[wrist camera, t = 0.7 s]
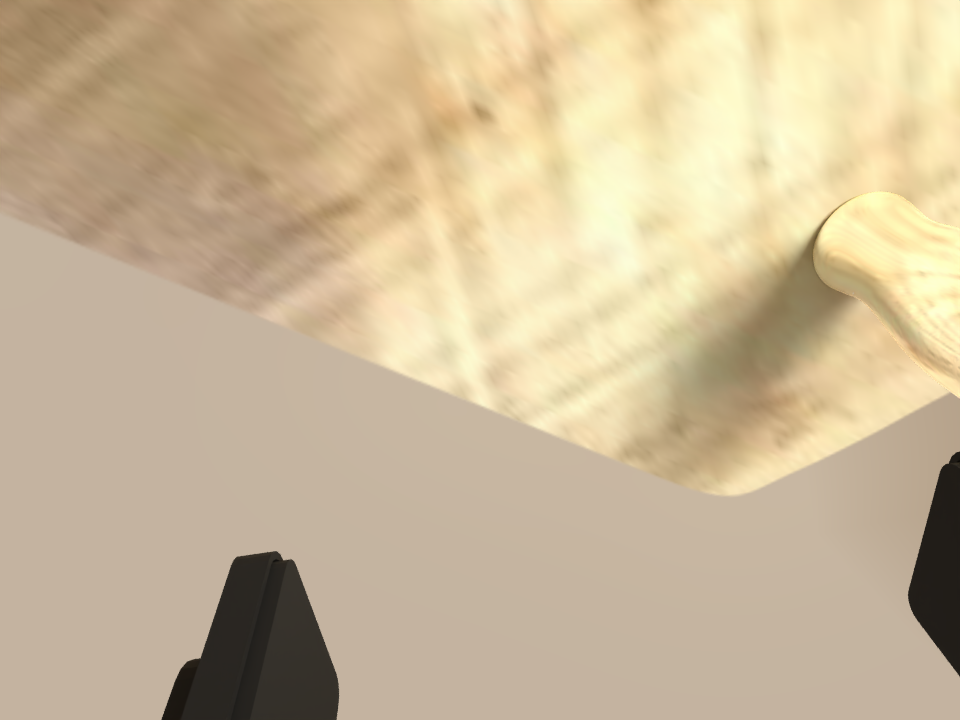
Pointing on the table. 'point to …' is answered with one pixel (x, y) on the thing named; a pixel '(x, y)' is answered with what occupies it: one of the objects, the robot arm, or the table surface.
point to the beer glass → (899, 276)
